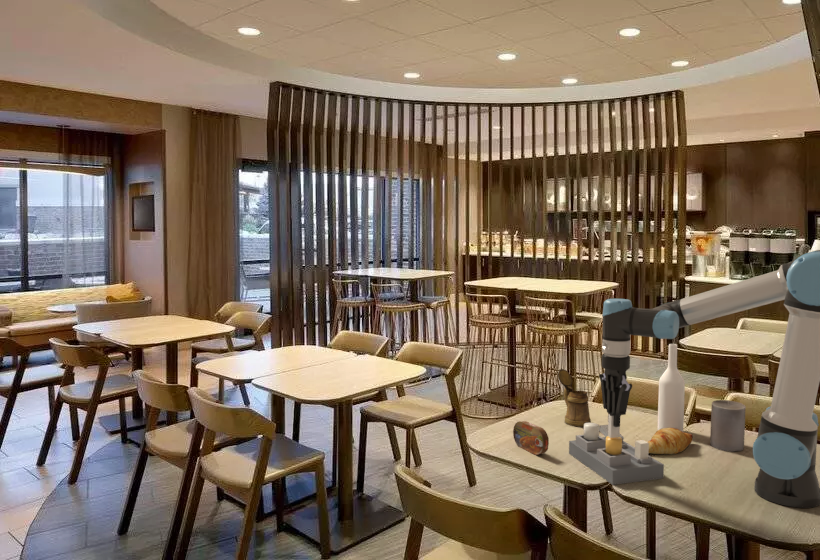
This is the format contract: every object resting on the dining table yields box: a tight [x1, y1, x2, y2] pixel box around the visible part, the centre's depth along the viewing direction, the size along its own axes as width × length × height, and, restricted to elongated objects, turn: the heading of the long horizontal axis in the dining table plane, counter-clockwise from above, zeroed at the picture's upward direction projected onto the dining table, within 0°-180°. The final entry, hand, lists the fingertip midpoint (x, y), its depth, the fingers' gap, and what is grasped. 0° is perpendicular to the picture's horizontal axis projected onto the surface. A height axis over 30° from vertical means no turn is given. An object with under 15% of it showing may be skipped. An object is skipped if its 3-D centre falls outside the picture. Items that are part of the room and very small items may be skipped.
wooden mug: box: [557, 368, 592, 428], centre depth 225 cm, size 9×14×18 cm, turn 30°
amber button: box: [606, 436, 622, 455], centre depth 178 cm, size 4×4×4 cm
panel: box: [568, 434, 665, 486], centre depth 185 cm, size 24×16×7 cm, turn 15°
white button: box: [583, 422, 600, 441], centre depth 189 cm, size 4×4×4 cm
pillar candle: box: [709, 399, 746, 452], centre depth 199 cm, size 10×10×15 cm
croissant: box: [647, 428, 694, 455], centre depth 198 cm, size 21×10×8 cm
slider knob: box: [634, 439, 650, 460], centre depth 178 cm, size 3×3×5 cm
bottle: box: [657, 343, 686, 432], centre depth 213 cm, size 8×8×30 cm
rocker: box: [599, 424, 625, 442], centre depth 193 cm, size 8×4×2 cm, turn 15°
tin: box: [512, 420, 550, 456], centre depth 198 cm, size 15×3×8 cm, turn 27°
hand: (613, 436), depth 177 cm, fingers closed
